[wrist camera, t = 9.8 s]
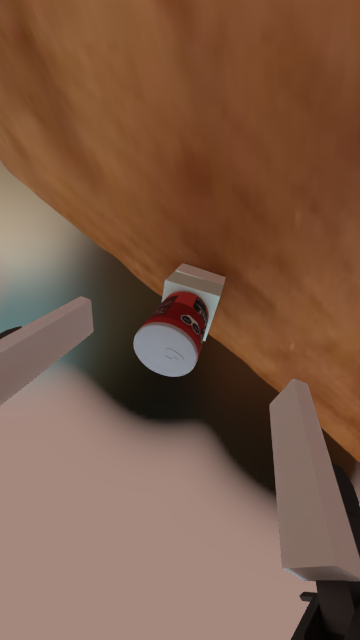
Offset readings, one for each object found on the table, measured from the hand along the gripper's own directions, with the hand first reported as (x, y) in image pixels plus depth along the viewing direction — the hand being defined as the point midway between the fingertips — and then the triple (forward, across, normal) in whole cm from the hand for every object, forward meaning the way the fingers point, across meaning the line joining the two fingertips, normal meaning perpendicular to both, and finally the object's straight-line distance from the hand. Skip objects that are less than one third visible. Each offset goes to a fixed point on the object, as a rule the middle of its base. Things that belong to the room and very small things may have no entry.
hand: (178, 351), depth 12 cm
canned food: (+18, -3, -8) cm, 20 cm away
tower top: (+23, -3, -8) cm, 24 cm away
